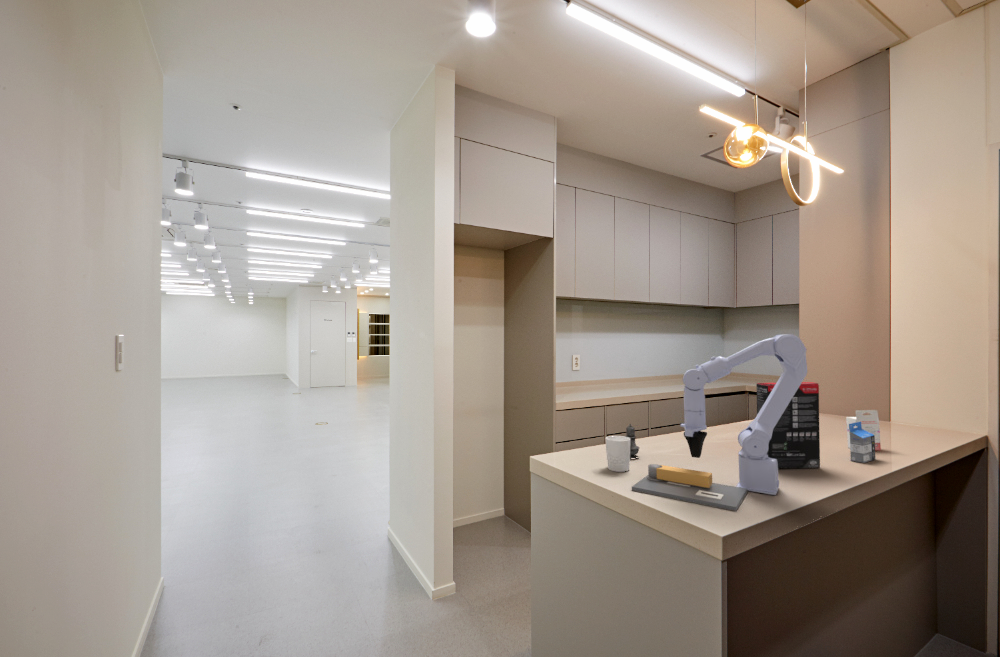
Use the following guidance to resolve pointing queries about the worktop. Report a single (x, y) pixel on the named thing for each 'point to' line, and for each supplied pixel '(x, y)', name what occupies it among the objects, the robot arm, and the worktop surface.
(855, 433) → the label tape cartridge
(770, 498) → the worktop surface
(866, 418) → the ink cartridge box
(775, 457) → the graphics card box
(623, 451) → the white cup
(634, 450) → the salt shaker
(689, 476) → the swing bar
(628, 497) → the worktop surface
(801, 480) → the worktop surface
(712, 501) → the label board
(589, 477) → the worktop surface
